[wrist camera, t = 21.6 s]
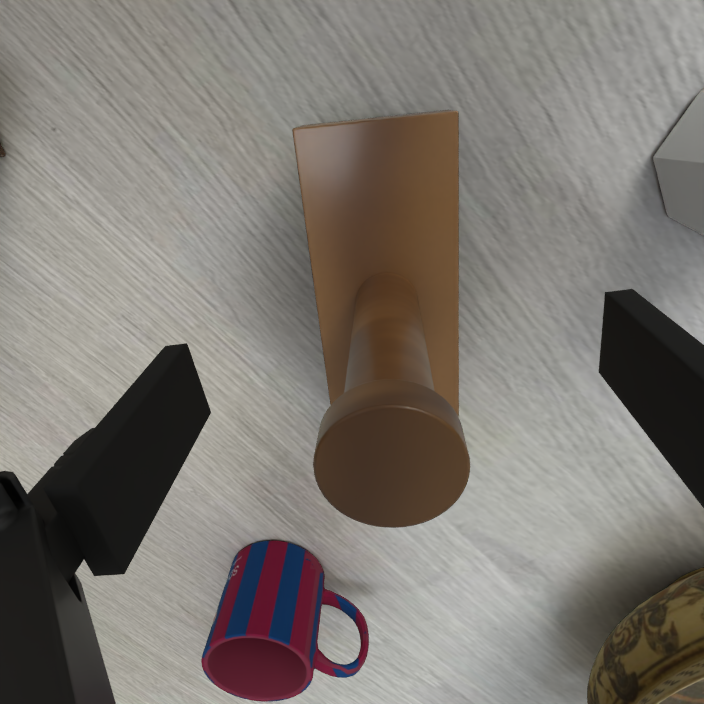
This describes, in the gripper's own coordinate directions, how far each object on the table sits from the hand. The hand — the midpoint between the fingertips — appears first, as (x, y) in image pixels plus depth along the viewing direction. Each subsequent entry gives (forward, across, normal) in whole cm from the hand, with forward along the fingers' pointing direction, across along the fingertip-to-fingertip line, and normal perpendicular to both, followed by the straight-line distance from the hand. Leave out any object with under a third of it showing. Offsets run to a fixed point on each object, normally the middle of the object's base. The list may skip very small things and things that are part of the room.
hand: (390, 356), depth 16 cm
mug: (+10, -9, -22) cm, 26 cm away
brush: (+10, 0, 0) cm, 10 cm away
